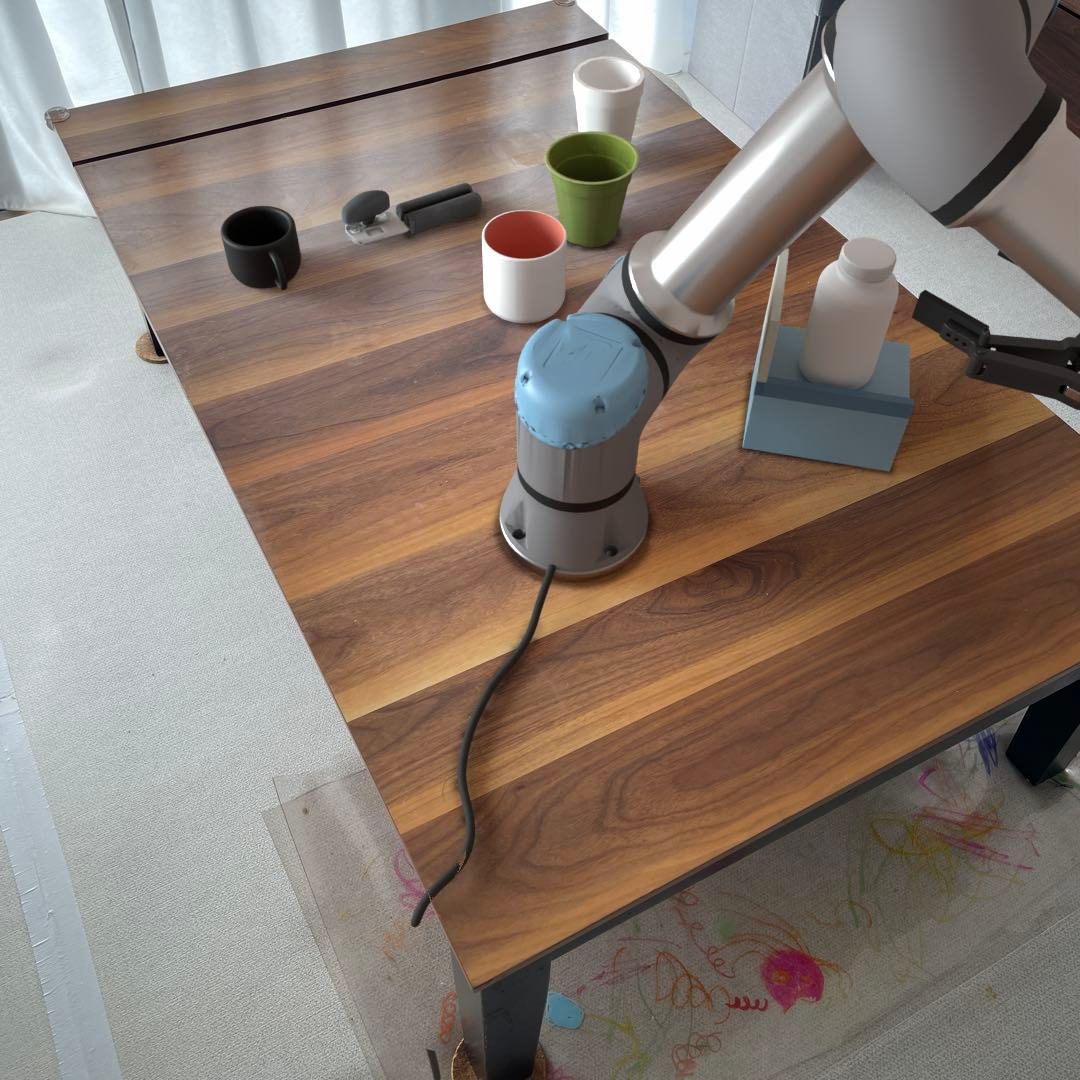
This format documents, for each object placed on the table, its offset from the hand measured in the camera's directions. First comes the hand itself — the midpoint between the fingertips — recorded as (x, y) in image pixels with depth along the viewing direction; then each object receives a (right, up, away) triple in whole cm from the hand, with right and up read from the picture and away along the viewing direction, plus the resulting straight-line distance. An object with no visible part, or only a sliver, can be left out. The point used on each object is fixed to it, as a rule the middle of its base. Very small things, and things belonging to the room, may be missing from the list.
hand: (962, 271), depth 101 cm
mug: (-72, +8, +40) cm, 83 cm away
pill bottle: (-7, -6, +19) cm, 21 cm away
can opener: (-55, +17, +47) cm, 75 cm away
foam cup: (-29, +29, +58) cm, 71 cm away
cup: (-40, +5, +38) cm, 55 cm away
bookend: (-7, -11, +25) cm, 28 cm away
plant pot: (-32, +16, +47) cm, 59 cm away
